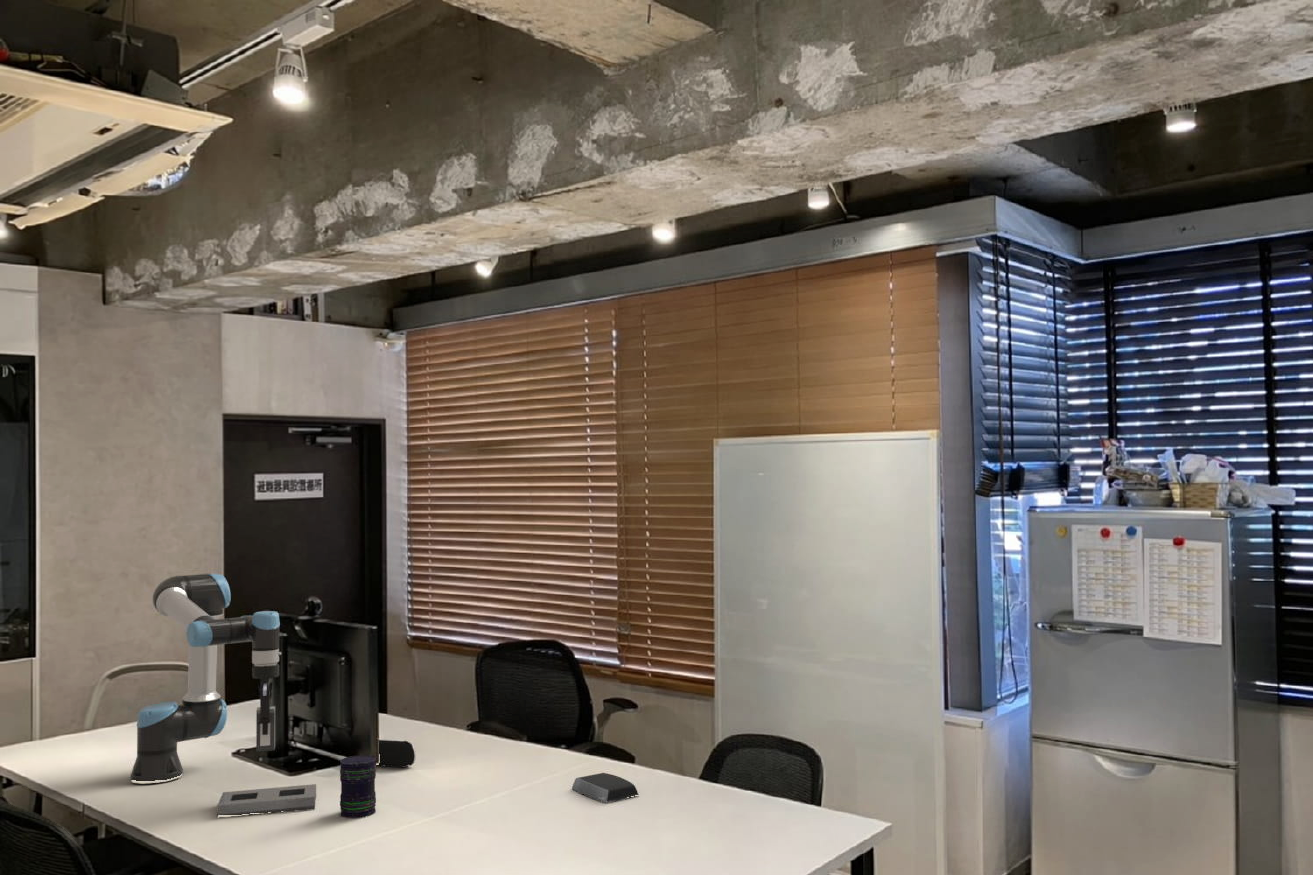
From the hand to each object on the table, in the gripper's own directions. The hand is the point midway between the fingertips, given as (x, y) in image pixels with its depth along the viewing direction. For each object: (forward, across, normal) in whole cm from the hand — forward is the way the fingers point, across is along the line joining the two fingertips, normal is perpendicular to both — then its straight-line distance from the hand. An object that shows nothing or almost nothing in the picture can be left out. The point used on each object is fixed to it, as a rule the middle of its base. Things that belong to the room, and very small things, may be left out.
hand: (265, 743), depth 310 cm
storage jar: (+17, -22, -26) cm, 38 cm away
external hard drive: (+18, -28, -96) cm, 102 cm away
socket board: (+17, -7, -1) cm, 18 cm away
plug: (+2, 0, 0) cm, 2 cm away
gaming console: (+17, +27, -37) cm, 49 cm away
